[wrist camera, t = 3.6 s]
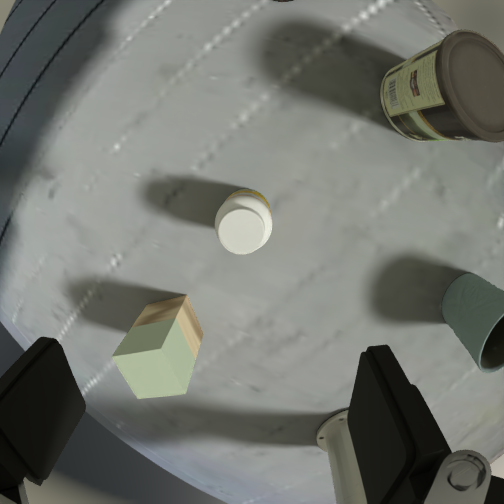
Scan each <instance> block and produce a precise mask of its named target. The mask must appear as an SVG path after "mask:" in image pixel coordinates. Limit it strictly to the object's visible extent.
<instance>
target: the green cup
mask: <svg viewBox="0 0 504 504" xmlns="http://www.w3.org/2000/svg"><path fill="white" fill-rule="evenodd" d="M441 309H442V315H443V318H444V320H445V321H446V322H447V324H448V325H449V326H450V327H451V328H452V329H453V330H454V333H455V334H456V336H457V337H458V338H459V339H460V341H461V342H462V344H464V346H465V348H466V349H467V350H468V351H469V353H470V354H471V356H472V358H473V359H474V361H475V363H476V364H477V366H478V367H479V369H480V370H481V371H483V372H485V373H493V372H496V371H498V370H500V369H502V368H503V367H504V291H503V290H501V289H500V288H497V287H496V286H495V285H492V284H491V283H490V282H487V281H486V280H485V279H483V278H481V277H480V276H478V275H476V274H472V273H468V274H464V275H462V276H460V277H458V278H457V279H455V280H454V281H453V282H452V283H451V285H450V286H449V287H448V289H447V291H446V292H445V295H444V297H443V300H442V307H441Z"/></svg>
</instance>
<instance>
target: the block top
mask: <svg viewBox="0 0 504 504" xmlns="http://www.w3.org/2000/svg"><path fill="white" fill-rule="evenodd" d="M112 358H113V360H114V361H115V363H116V365H117V367H118V368H119V370H120V372H121V373H122V375H123V376H124V378H125V380H126V381H127V383H128V384H129V386H130V388H131V389H132V391H133V392H134V394H135V395H136V397H137V398H138V399H143V398H154V397H164V396H173V395H181V394H186V391H187V388H188V384H189V381H190V378H191V374H192V371H193V368H194V364H195V361H196V360H195V358H194V356H193V354H192V351H191V349H190V347H189V345H188V343H187V341H186V339H185V337H184V334H183V332H182V330H181V328H180V326H179V324H178V321H177V319H176V318H173V319H169V320H164V321H160V322H155V323H150V324H146V325H141V326H136V327H132V328H131V329H130V330H129V332H128V333H127V335H126V336H125V338H124V339H123V341H122V342H121V343H120V345H119V346H118V348H117V349H116V351H115V352H114V354H113V355H112Z"/></svg>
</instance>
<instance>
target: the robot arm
mask: <svg viewBox="0 0 504 504" xmlns="http://www.w3.org/2000/svg"><path fill="white" fill-rule="evenodd" d="M85 408H86V405H85V401H84V399H83V397H82V394H81V392H80V390H79V388H78V385H77V383H76V381H75V378H74V376H73V373H72V371H71V369H70V366H69V364H68V361H67V358H66V356H65V353H64V350H63V348H62V346H61V345H60V344H59V342H58V341H57V340H56V339H54V338H48V337H40V338H39V339H38V340H37V341H36V342H35V343H34V344H33V345H32V346H31V347H30V348H29V349H28V350H27V351H26V352H25V353H24V354H23V355H22V356H21V357H20V358H19V359H18V360H17V361H16V362H15V363H14V364H13V365H12V366H11V367H10V368H9V369H8V370H7V371H6V373H5V374H4V375H3V376H2V377H1V378H0V504H29V502H28V498H27V494H26V490H25V485H24V481H23V479H24V477H26V478H27V479H28V480H29V481H31V482H33V483H35V484H37V485H39V486H41V484H42V482H43V480H46V479H47V478H48V476H49V474H50V472H51V471H52V469H53V467H54V465H55V463H56V461H57V459H58V457H59V456H60V454H61V452H62V450H63V449H64V447H65V445H66V443H67V441H68V440H69V438H70V436H71V434H72V433H73V431H74V429H75V427H76V426H77V424H78V422H79V420H80V419H81V417H82V415H83V413H84V412H85ZM316 439H317V444H318V446H319V447H320V448H321V449H322V450H324V451H326V452H328V456H329V462H330V467H331V473H332V479H333V485H334V491H335V497H336V503H337V504H504V479H503V478H499V477H496V476H493V475H491V467H490V464H489V462H488V461H487V459H486V458H485V457H484V456H483V455H481V454H480V453H478V452H476V451H473V450H458V451H456V452H453V453H452V451H451V449H450V448H449V446H448V444H447V442H446V440H445V438H444V436H443V434H442V432H441V430H440V428H439V426H438V424H437V422H436V420H435V419H434V417H433V415H432V413H431V411H430V409H429V408H428V406H427V404H426V402H425V400H424V398H423V397H422V395H421V393H420V391H419V390H418V388H417V387H416V386H415V385H413V384H410V382H409V380H408V379H407V377H406V375H405V373H404V372H403V370H402V368H401V366H400V364H399V363H398V361H397V359H396V358H395V356H394V354H393V352H392V351H391V349H390V347H389V346H388V345H379V346H369V347H368V348H367V350H366V352H362V353H361V355H360V360H359V365H358V370H357V375H356V380H355V384H354V389H353V393H352V398H351V402H350V406H349V410H346V411H343V412H340V413H338V414H336V415H334V416H333V417H331V418H329V419H328V420H327V421H326V422H324V423H323V424H322V425H321V427H320V428H319V430H318V431H317V435H316Z"/></svg>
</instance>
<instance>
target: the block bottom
mask: <svg viewBox="0 0 504 504" xmlns="http://www.w3.org/2000/svg"><path fill="white" fill-rule="evenodd" d="M173 318H176V319H177V321H178V324H179V326H180V328H181V330H182V332H183V334H184V337H185V339H186V341H187V343H188V345H189V347H190V349H191V351H192V354H193V356H194V358H195V360H196V357H197V353H198V350H199V347H200V343H201V340H202V337H203V331H202V329H201V327H200V324H199V322H198V320H197V317H196V315H195V313H194V310H193V308H192V305H191V303H190V300H189V298H188V296H187V295H184V296H180V297H176V298H172V299H168V300H164V301H160V302H156V303H152V304H148V305H146V307H145V308H144V310H143V311H142V313H141V314H140V315H139V317H138V318H137V320H136V321H135V323H134V324H133V325H132V327H136V326H141V325H146V324H150V323H155V322H160V321H164V320H169V319H173ZM132 327H131V328H132Z"/></svg>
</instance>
